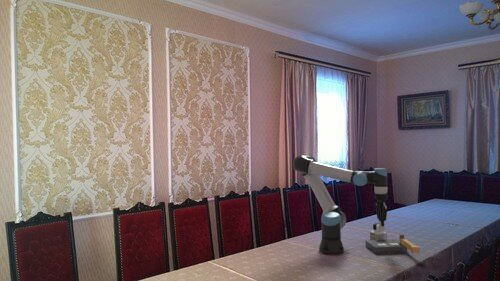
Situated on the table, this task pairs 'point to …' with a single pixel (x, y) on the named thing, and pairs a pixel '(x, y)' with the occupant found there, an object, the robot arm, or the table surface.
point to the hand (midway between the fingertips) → (381, 231)
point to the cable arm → (409, 244)
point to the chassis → (385, 246)
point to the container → (377, 233)
